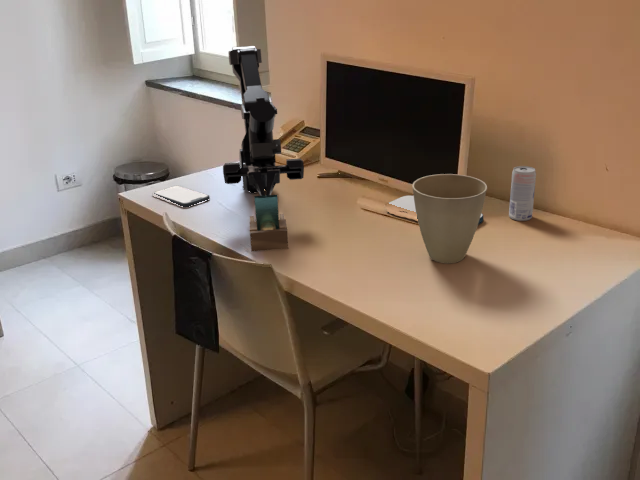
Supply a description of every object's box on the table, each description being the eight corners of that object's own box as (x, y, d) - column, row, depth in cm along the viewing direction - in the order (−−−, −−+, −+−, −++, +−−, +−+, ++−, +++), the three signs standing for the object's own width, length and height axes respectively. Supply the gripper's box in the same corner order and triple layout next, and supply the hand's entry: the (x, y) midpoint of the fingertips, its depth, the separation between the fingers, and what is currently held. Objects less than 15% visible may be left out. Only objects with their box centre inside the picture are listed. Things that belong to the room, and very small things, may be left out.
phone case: (151, 198, 188) (184, 210, 177) (150, 192, 187) (184, 204, 176) (177, 190, 193) (212, 201, 183) (177, 184, 193) (211, 195, 182)
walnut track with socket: (250, 223, 166) (249, 206, 164) (284, 221, 166) (283, 204, 165) (251, 251, 150) (249, 233, 149) (288, 248, 151) (287, 230, 149)
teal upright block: (257, 233, 160) (254, 196, 156) (279, 231, 160) (277, 194, 156) (258, 247, 152) (254, 208, 149) (281, 245, 153) (278, 206, 149)
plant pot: (398, 249, 149) (399, 180, 142) (458, 238, 153) (461, 170, 147) (432, 277, 136) (435, 202, 129) (496, 264, 140) (502, 190, 134)
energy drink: (529, 213, 166) (534, 165, 161) (533, 221, 161) (538, 172, 156) (507, 213, 166) (510, 165, 161) (510, 221, 161) (514, 172, 157)
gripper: (219, 129, 155) (222, 191, 149) (301, 124, 156) (307, 185, 151) (223, 153, 165) (226, 212, 159) (300, 148, 167) (306, 206, 161)
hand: (266, 203), depth 157 cm, fingers closed
